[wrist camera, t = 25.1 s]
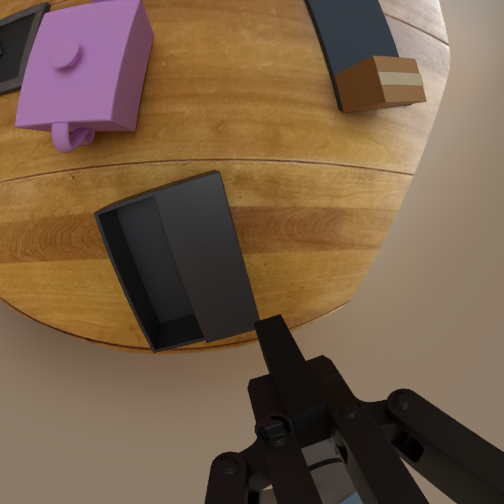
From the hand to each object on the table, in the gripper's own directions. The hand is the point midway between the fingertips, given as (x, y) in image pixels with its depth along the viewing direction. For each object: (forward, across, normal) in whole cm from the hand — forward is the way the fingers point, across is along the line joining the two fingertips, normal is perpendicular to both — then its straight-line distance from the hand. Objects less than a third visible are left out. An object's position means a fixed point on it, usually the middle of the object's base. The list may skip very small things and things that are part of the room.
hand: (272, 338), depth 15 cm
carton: (+20, -6, 0) cm, 21 cm away
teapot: (+21, -9, +24) cm, 33 cm away
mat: (+20, +23, +22) cm, 38 cm away
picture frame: (+21, -27, +37) cm, 50 cm away
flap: (+14, -3, 0) cm, 14 cm away
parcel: (+19, +20, +14) cm, 31 cm away
